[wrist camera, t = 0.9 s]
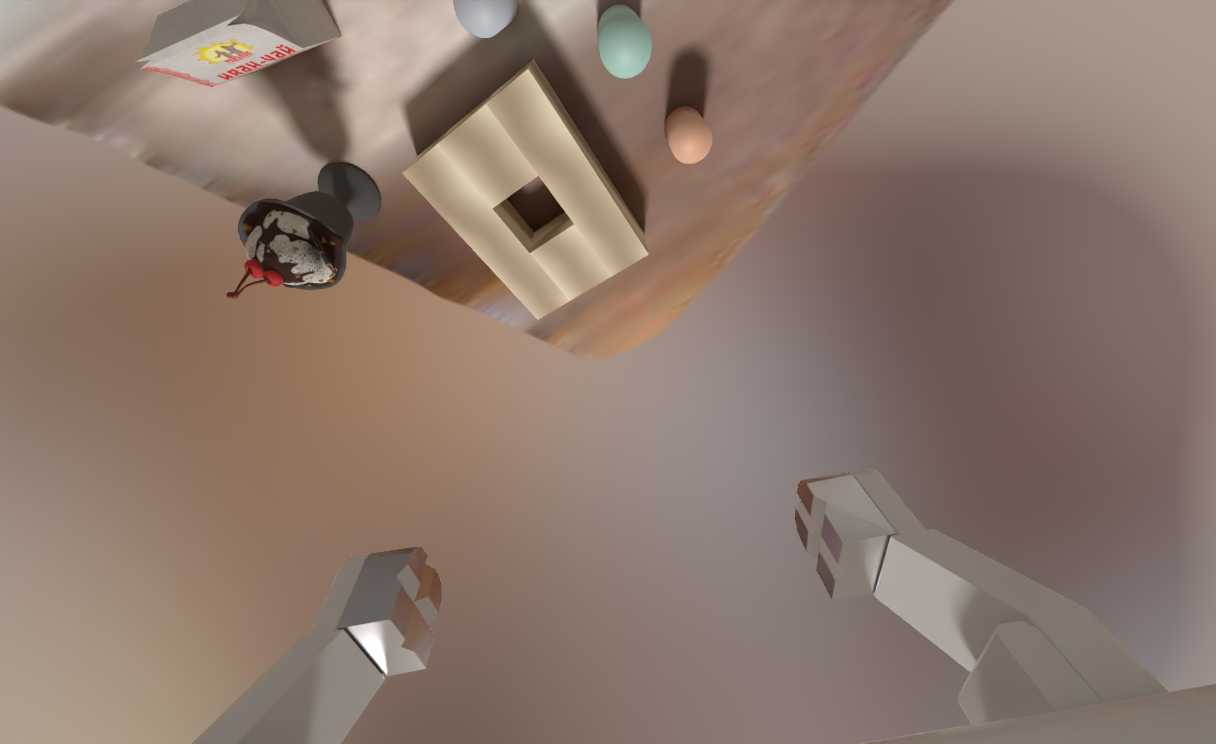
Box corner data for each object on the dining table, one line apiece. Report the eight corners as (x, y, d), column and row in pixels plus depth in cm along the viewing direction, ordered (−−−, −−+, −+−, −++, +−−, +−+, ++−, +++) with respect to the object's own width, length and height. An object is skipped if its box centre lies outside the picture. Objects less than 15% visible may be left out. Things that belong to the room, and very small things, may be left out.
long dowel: (626, -7, 31) (634, 1, 25) (648, 39, 33) (661, 56, 27) (589, 23, 32) (589, 38, 26) (612, 66, 34) (617, 89, 28)
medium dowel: (497, -43, 30) (481, -43, 25) (527, 7, 32) (517, 15, 27) (463, -10, 31) (442, -4, 26) (494, 37, 33) (479, 49, 28)
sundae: (298, 203, 40) (184, 299, 29) (319, 134, 36) (198, 212, 25) (376, 244, 43) (300, 347, 31) (402, 183, 39) (328, 274, 28)
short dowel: (692, 97, 35) (701, 109, 32) (708, 133, 37) (719, 148, 34) (657, 121, 36) (663, 135, 33) (675, 155, 38) (682, 171, 35)
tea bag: (218, 7, 31) (101, 23, 24) (304, -32, 30) (209, -28, 22) (261, 70, 33) (167, 101, 26) (341, 36, 32) (267, 59, 25)
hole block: (533, 58, 33) (528, 68, 30) (644, 233, 43) (648, 254, 40) (417, 156, 38) (402, 173, 35) (541, 296, 47) (537, 319, 44)
